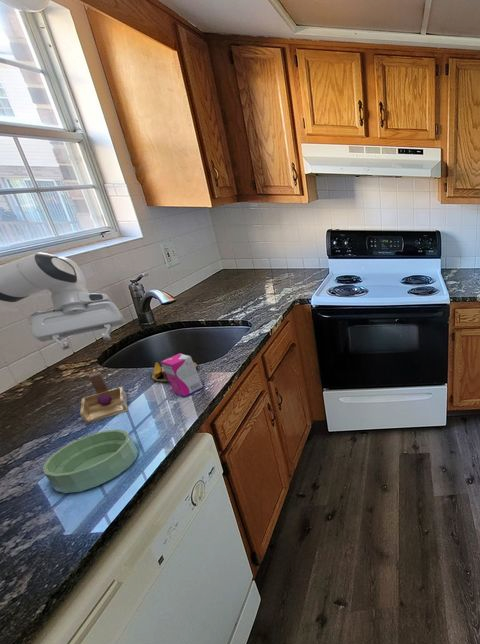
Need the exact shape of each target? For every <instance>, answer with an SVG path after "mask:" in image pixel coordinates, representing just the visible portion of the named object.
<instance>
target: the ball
mask: <svg viewBox="0 0 480 644" xmlns="http://www.w3.org/2000/svg"><path fill="white" fill-rule="evenodd" d="M111 400H112V398H111V397H110V396H109V395H102V396H100V397H99V398H98V400H97V401H98V403H99V404H100V405H107V404H109V403H110V402H111Z"/></svg>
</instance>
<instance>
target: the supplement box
mask: <svg viewBox="0 0 480 644" xmlns="http://www.w3.org/2000/svg"><path fill="white" fill-rule="evenodd" d="M193 362H194V361H193V358H192V356H191V355H187V354H183V353H177V354H175V355H172V356H171V357H168V358H166V359H163V360H161V361H160V364H161V367H163V368H164V371H165V373H166V375H167V377H168V380H169V384H170V386H171V389H172V391H173V393H174V394H175V395H177V396H180V397H183V398H187V397H190V396H191V395H194V394H195V393H197V392H199V391H201V390H203V389H204V385H203V383H202V380H201V377H200V376H199V373H198V371H197V367H196V368H195V366H194V363H195V362H194V363H193Z"/></svg>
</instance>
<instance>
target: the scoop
mask: <svg viewBox="0 0 480 644" xmlns="http://www.w3.org/2000/svg"><path fill="white" fill-rule="evenodd" d="M88 378H89V381H90V383H91V384H92V386H93V388H94V390H95V394H92V395H91V394H90V395H88V396H85V397H82V398H81V403H80V411H79V415H80V417H81V419H82V420H83V422H84V424H85V425H89V424H92V423H95V422H98V421H101V420H104V419H107V418H110V417H113V416H114V417H115V416H116V415H120V414H123V413H126V412H128V411H129V405H128V395H127V393H126V391H125V389H124V387H123V386H119V387H115V388H111V389H109V387H108V384H107V382H106V381H105V378H104V376H103V374H102V373H101V371H98V372H94V373H91V374H89V375H88ZM102 395H109V396H110V397H111V398H112V400H111V402H110V403H109V404H107V405H100V404H99V403H98V401H97V400H98V398H99V397H100V396H102Z"/></svg>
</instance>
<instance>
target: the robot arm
mask: <svg viewBox="0 0 480 644" xmlns="http://www.w3.org/2000/svg"><path fill="white" fill-rule="evenodd" d="M45 290H47V291H49V292H50V295H51V296H50V300H51V303H52V306H53V308H52V309H47V310H43V311H36V312H33V314H31V315H29V316H28V317H27V320H28V324H29V325H30V326H31V332H32V336H33V337H34V338H35V339H36V340H37V341H39V342H42V343H43V342H47V341H54V342H55V343H57V344H59V345H60V348H61V350H63V351H65V350H70V349H71V347H70V343H68V341H63V338H66V337H71V336H75V335H76V336H77V335H80V334H86V333H90V332H94V331H98V330H99V331H100V330H105V332H103V333H101V336H102V339H103V340H104V341H109V340H112V338H111V336H110V335H111V333H112V331H113V327H117V326H118V327H119V326H122V325H124V323H125V321H126V320H125V318H124V316H123V314H122V312H121V311H120V310H119V308H118V307H117V305H116V304H115V303H114V302H113V300H112V299H111V297H109V295H108V294H106V293H91V292H89V290H88V283H87V280H86V278H85V276H84V273H83V272H82V269H81V268H80V266H79V265H78V264H77V263H76V262H75V261H74V260H72V259H70V258H67V257H65V256H57V255H54V254H50V253H47V252H36V253H32V254H29V255H27V256H24V257H21V258H19V259H16V260H13V261H12V260H11V261H9V262H7V263H4V264H0V301H2V302H6V303H7V302H8V303H16V302H17V303H18V302H19V301H21V300H23V299H26V298H28V297H30V296H31V295H34V294H37V293H40V292H42V291H45Z"/></svg>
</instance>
